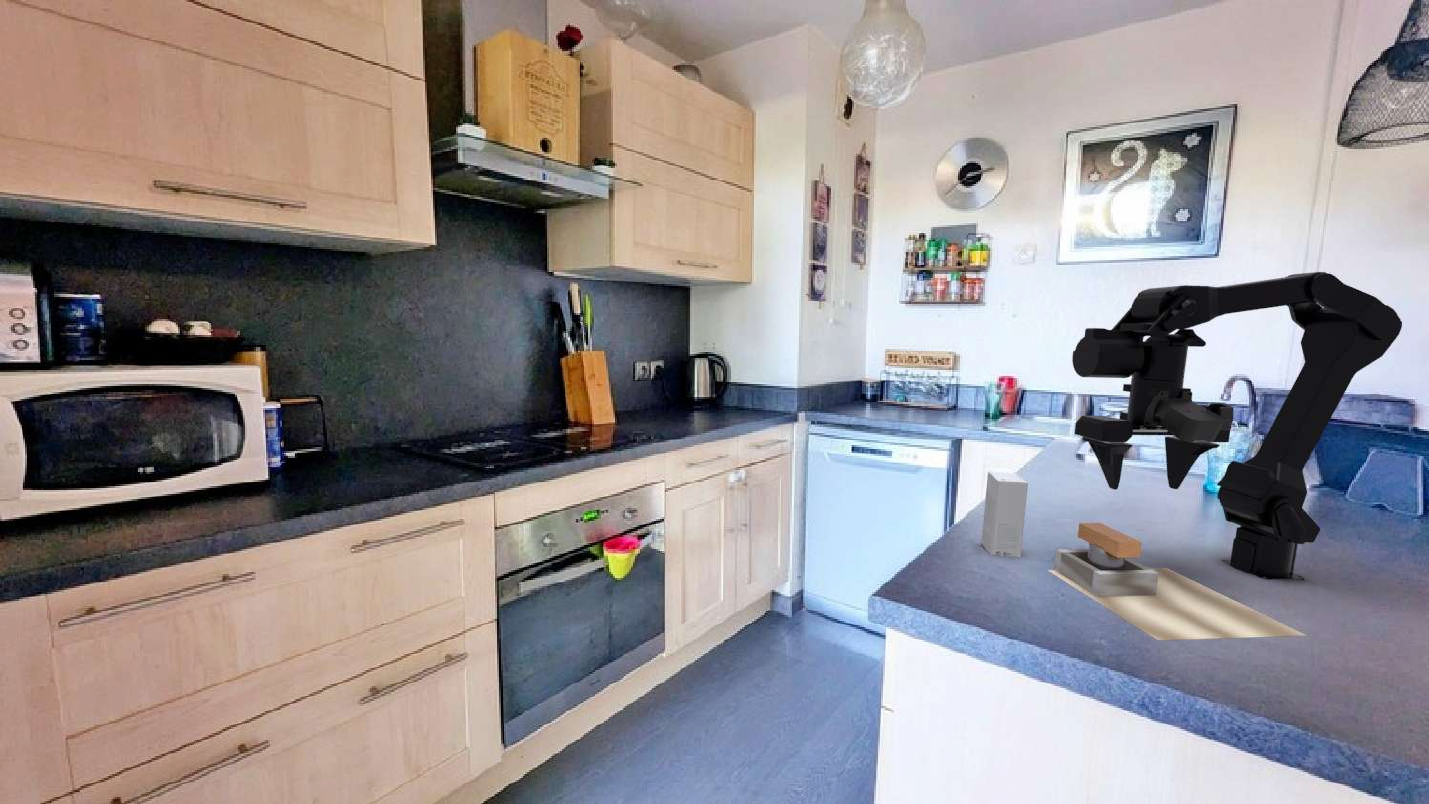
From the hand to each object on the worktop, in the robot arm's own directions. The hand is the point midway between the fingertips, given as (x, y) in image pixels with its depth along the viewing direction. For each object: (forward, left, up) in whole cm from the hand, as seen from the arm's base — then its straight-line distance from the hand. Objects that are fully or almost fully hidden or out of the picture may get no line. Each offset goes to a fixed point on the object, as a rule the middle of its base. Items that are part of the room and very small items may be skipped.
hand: (1143, 488), depth 80 cm
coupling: (+9, +5, -11) cm, 15 cm away
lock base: (+5, +10, -12) cm, 16 cm away
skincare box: (+16, -7, -12) cm, 21 cm away
